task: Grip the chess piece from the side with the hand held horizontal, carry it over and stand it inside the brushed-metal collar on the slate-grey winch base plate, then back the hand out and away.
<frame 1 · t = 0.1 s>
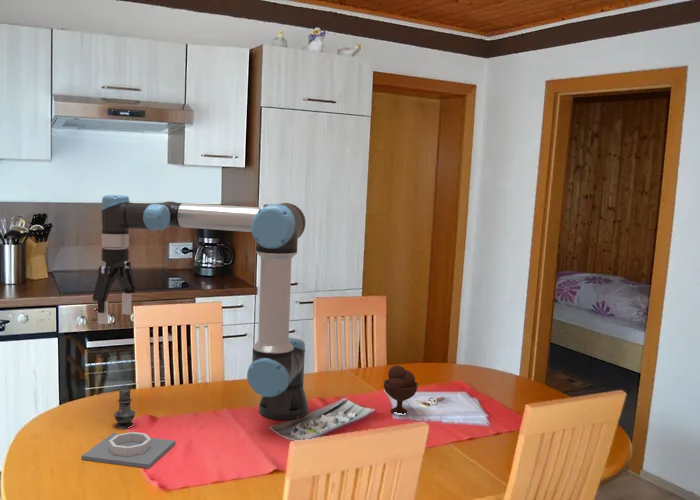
hand: (115, 318, 196), 28 cm above the table, tool pointing down, fingers open, 13 cm apart
ice cream bowl: (399, 412, 208), on the table
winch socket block: (129, 451, 170), on the table
chess piece: (124, 426, 187), on the table
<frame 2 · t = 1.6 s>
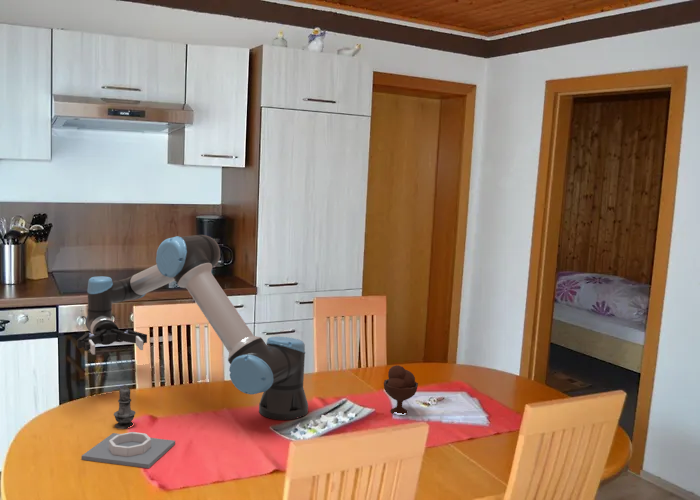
hand: (118, 347, 193), 20 cm above the table, tool horizontal, fingers open, 13 cm apart
nothing on the table moved.
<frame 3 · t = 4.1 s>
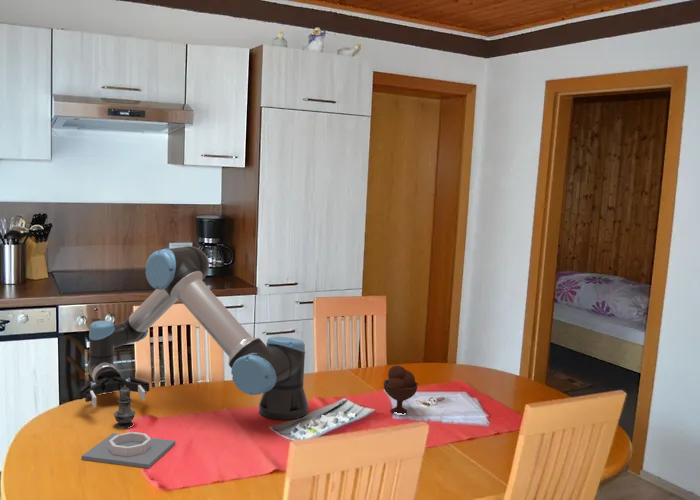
hand: (119, 399, 190), 6 cm above the table, tool horizontal, fingers open, 13 cm apart
nothing on the table moved.
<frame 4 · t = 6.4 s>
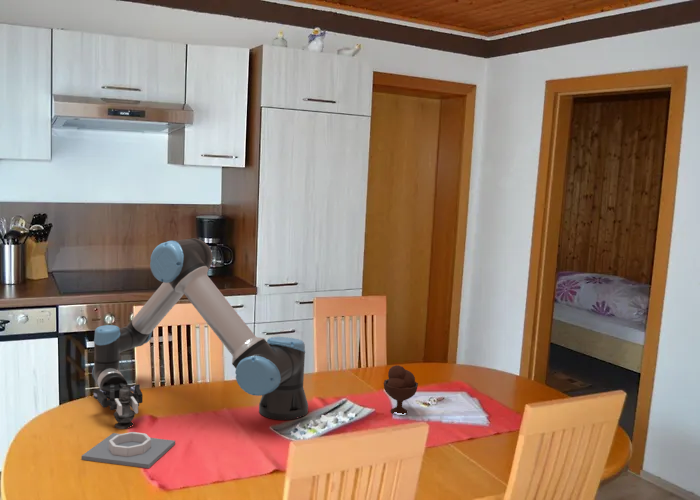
hand: (128, 409, 182), 7 cm above the table, tool horizontal, fingers closed on chess piece, 4 cm apart
chess piece: (124, 426, 187), on the table, touching gripper
everything else where it was.
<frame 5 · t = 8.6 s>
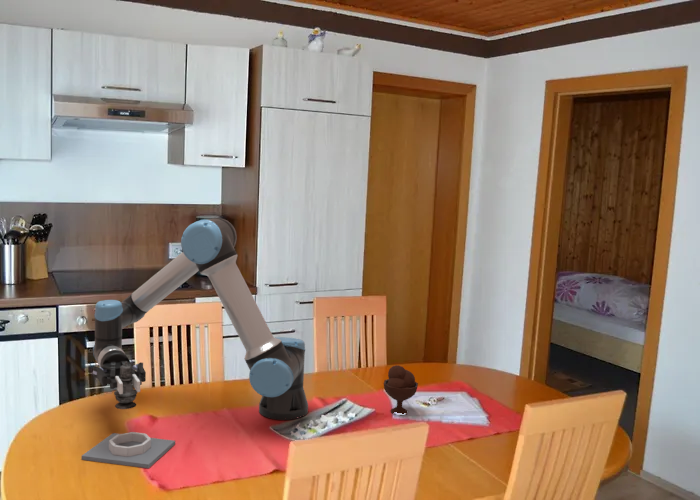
hand: (130, 387, 166), 18 cm above the table, tool horizontal, fingers closed on chess piece, 4 cm apart
chess piece: (125, 406, 172), point 11 cm above the table, touching gripper
everything else where it was.
when the fingers open (9 cm above the table, at t = 10.7 s): chess piece drops 2 cm, resting on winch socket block.
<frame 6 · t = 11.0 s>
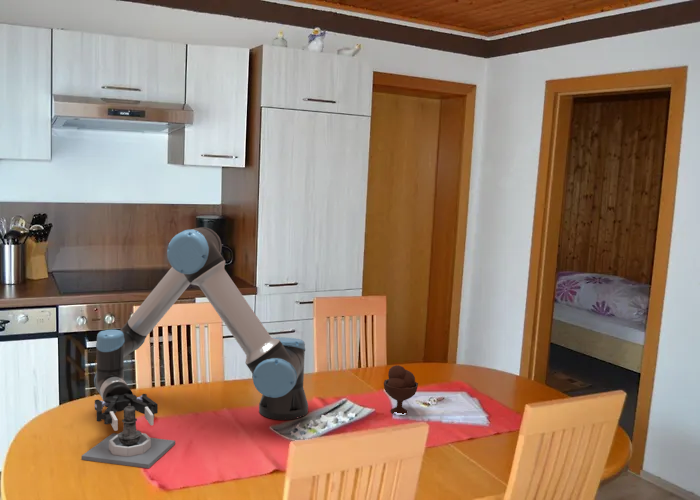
hand: (134, 422, 165), 9 cm above the table, tool horizontal, fingers open, 8 cm apart
chess piece: (129, 448, 170), point 1 cm above the table, touching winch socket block
everything else where it was.
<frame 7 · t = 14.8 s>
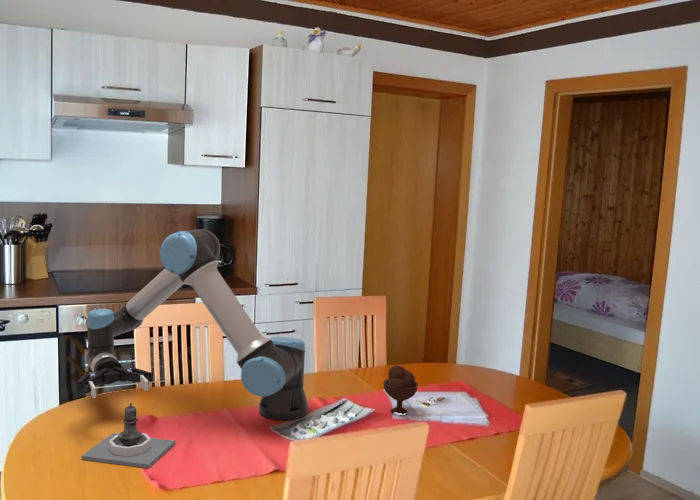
hand: (121, 389, 177), 13 cm above the table, tool horizontal, fingers open, 13 cm apart
nothing on the table moved.
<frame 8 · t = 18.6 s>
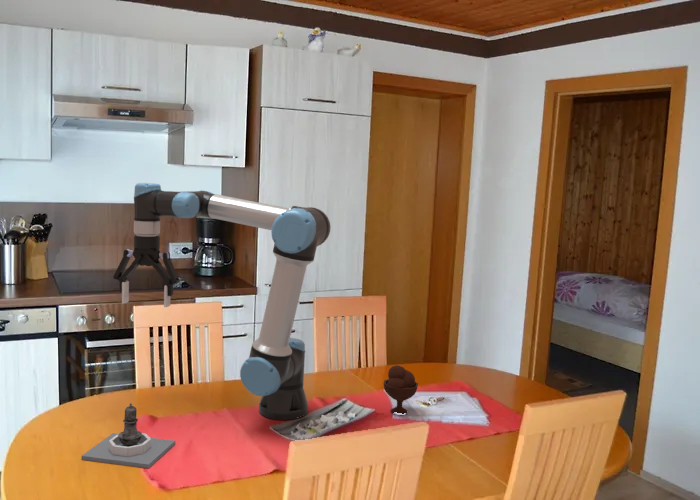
hand: (146, 304, 200), 32 cm above the table, tool pointing down, fingers open, 13 cm apart
nothing on the table moved.
at the end: chess piece 0.0 cm off-centre on the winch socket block, point 0.8 cm above the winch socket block's base; chess piece tilted 1°; the gripper is holding nothing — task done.
